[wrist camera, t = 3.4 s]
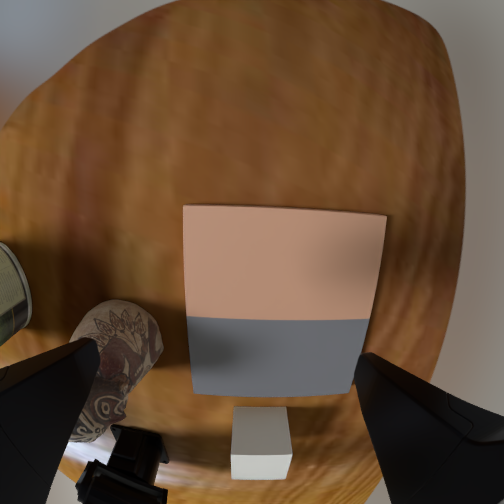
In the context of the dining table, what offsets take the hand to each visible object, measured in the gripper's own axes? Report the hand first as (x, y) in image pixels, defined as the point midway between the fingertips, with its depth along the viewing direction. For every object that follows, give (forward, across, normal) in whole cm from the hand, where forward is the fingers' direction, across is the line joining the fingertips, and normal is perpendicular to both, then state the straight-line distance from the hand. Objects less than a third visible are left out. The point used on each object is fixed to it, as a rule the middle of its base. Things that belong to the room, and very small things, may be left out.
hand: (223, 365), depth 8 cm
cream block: (+12, -2, +17) cm, 21 cm away
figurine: (+12, +10, +7) cm, 17 cm away
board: (+12, -3, +4) cm, 13 cm away
